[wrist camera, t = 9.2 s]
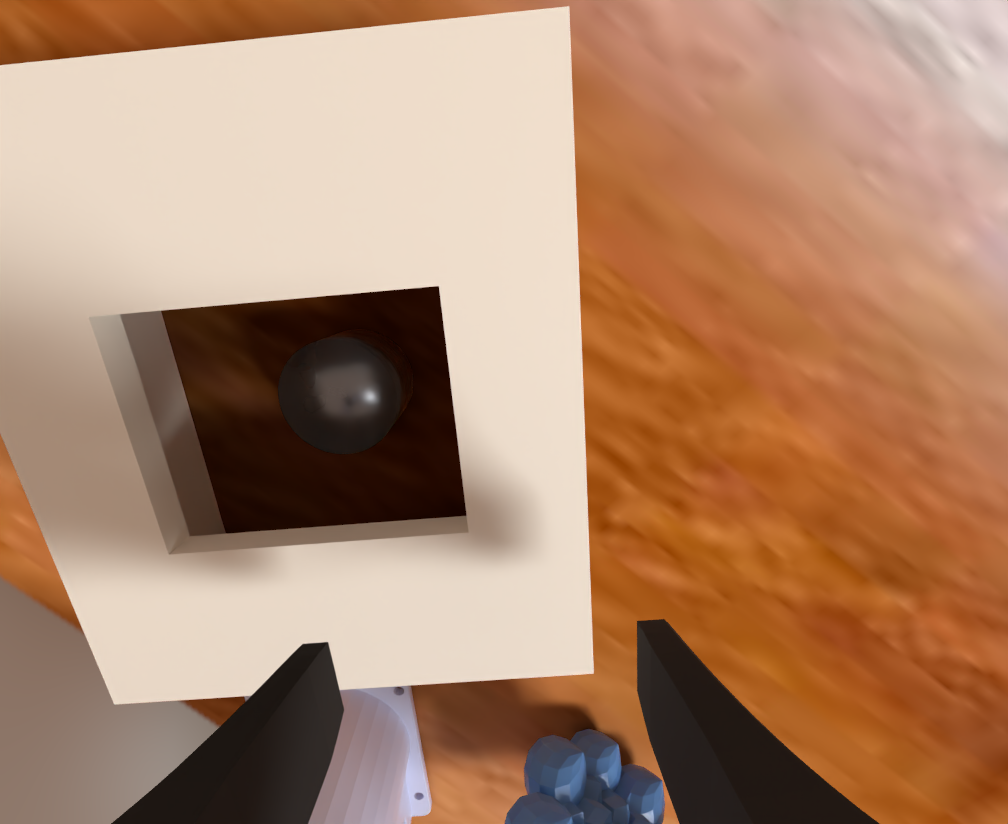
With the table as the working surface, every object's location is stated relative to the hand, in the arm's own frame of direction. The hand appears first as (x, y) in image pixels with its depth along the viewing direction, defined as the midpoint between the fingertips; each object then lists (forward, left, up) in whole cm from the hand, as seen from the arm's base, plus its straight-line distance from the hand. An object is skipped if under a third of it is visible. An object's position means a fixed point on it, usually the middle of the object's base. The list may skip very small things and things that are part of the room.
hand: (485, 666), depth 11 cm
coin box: (+5, +5, -9) cm, 12 cm away
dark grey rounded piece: (+5, +5, -10) cm, 12 cm away
